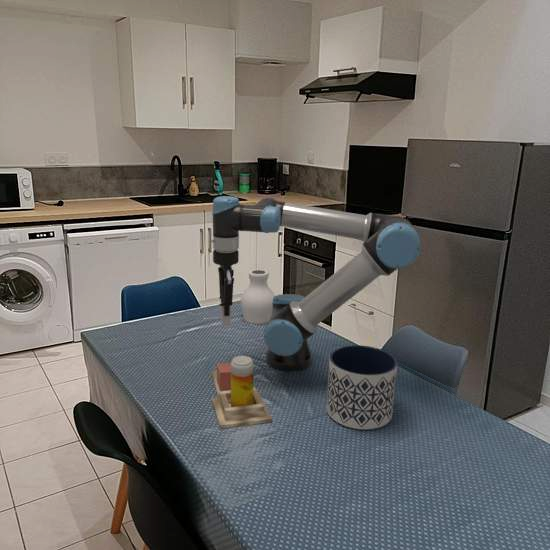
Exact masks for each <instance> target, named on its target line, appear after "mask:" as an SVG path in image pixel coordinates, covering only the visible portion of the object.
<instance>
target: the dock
mask: <svg viewBox="0 0 550 550" xmlns="http://www.w3.org/2000/svg"><path fill="white" fill-rule="evenodd" d="M210 375H211V378H212V381H213V384H214V388H215V390H216V394H217V397H215V398H214V397H212V398H211V403H212V406H213V411H214V413H215V417H216V420H217V424H218V426H219V430H221V429H222V430H223V429H229V428H237V427H245V426H250V425H251V426H253V425H260V424H267V423H272V420H273V419H272V417H271V415H270V412H269V410H268V408H267V406H266V404H265V402H264V400H263V398H262V396H261V393H260V392H258V391H257V389H256V387H255V386H253V405H246V406H238V407H231V390H228V391H220V389H219V386H218V383H217V369H214V370H213V369H212V370H210Z"/></svg>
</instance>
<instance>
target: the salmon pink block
mask: <svg viewBox="0 0 550 550" xmlns="http://www.w3.org/2000/svg"><path fill="white" fill-rule="evenodd" d="M231 362H232V361H231ZM231 362H221V363H220V362H219V363H216V370H217V383H218V386H219V389H220V391H228V390H231Z"/></svg>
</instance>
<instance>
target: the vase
mask: <svg viewBox="0 0 550 550" xmlns="http://www.w3.org/2000/svg"><path fill="white" fill-rule="evenodd" d="M269 275H270V272H269V271H268V269H267V270H266V269H260V268H259V269H258V268H256V269H255V268H254V269H250V270H249V271H248V278H249V282H250V283H249V285H248V287H247V288H245V290H244V291H243V292H242V294H241V296H240V297H241V298H240V307H241V312H242V316H243V317H242V320H243V321H244V322H245V323H247V324H250V325H251V324H252V325H267V324H268V321H269V319H270V317H271V314H272V310H273V304H272V303H273V298H274V297H275V296H276V294H275V293H274V291H273V290H272V289H271V288H270V287H269V286H268V279H269Z"/></svg>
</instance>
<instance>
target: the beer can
mask: <svg viewBox="0 0 550 550" xmlns="http://www.w3.org/2000/svg"><path fill="white" fill-rule="evenodd" d="M253 388H254V361H253V359H252V358H251V357H249V356H247V355H237V356H234V357H233V358H232V361H231V407H238V406H246V405H253Z"/></svg>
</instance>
